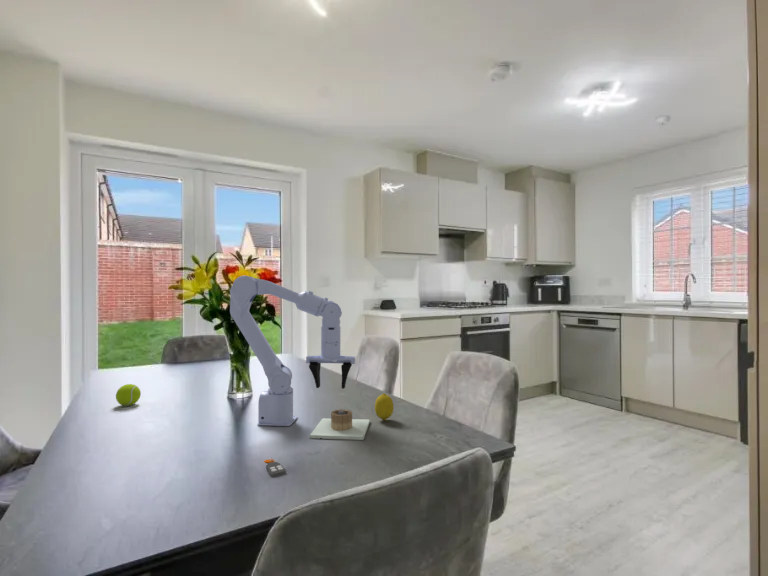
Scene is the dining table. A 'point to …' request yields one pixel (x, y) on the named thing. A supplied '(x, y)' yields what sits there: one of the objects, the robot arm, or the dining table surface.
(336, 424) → the bead
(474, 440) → the dining table surface
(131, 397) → the tennis ball
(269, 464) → the key chain
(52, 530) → the dining table surface
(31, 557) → the dining table surface
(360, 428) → the white board with peg
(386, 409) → the lemon
